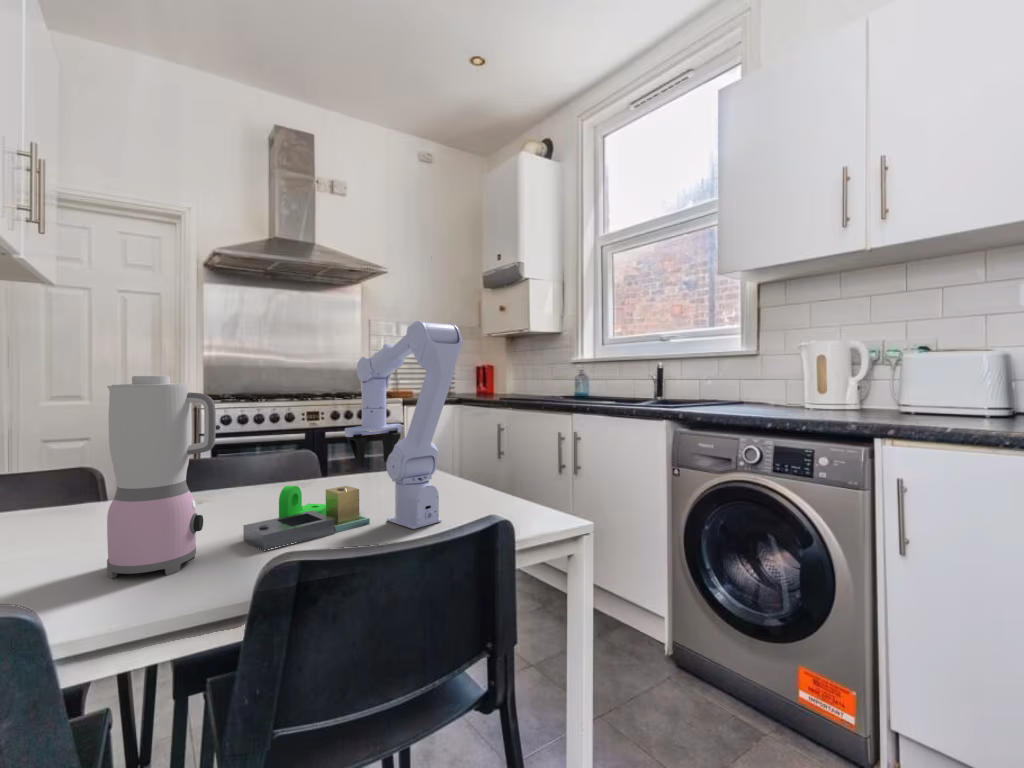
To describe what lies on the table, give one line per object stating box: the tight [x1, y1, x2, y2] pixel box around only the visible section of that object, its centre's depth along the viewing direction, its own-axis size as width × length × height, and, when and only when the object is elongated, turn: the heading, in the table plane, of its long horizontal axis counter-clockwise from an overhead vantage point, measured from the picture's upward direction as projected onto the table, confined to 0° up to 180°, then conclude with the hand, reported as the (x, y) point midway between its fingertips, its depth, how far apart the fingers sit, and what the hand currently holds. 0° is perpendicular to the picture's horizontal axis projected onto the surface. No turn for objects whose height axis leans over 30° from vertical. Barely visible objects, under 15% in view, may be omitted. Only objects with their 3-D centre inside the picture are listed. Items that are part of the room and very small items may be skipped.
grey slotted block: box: [242, 511, 335, 552], centre depth 102 cm, size 9×14×3 cm, turn 138°
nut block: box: [325, 485, 360, 526], centre depth 111 cm, size 5×5×7 cm
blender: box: [106, 375, 217, 579], centre depth 87 cm, size 16×12×32 cm
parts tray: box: [334, 514, 371, 533], centre depth 111 cm, size 8×8×1 cm
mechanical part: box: [278, 485, 326, 518], centre depth 114 cm, size 12×6×8 cm, turn 173°
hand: (374, 464), depth 124 cm, fingers open, 7 cm apart
